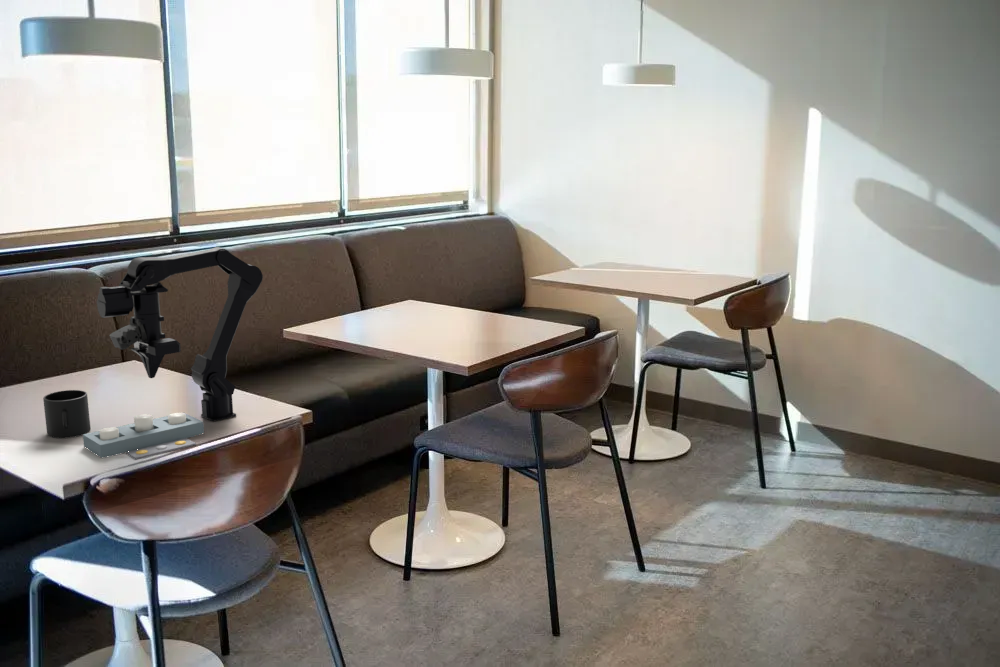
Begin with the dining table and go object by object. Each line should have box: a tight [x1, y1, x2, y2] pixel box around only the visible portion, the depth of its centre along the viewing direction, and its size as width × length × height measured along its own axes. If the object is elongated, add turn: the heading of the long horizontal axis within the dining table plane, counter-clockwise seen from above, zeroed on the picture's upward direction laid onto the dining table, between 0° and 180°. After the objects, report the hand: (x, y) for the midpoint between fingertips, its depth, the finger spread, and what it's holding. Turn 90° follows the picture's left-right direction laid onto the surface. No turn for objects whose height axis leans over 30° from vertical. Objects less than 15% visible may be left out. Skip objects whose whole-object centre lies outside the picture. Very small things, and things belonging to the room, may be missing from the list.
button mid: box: [133, 413, 154, 433], centre depth 223 cm, size 4×4×4 cm
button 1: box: [98, 426, 119, 441], centre depth 218 cm, size 4×4×4 cm
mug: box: [42, 389, 91, 439], centre depth 228 cm, size 9×12×9 cm
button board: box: [82, 412, 205, 459], centre depth 224 cm, size 24×10×3 cm, turn 133°
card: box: [125, 438, 197, 461], centre depth 218 cm, size 14×5×1 cm, turn 133°
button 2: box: [167, 412, 187, 425], centre depth 229 cm, size 4×4×4 cm
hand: (151, 377), depth 229 cm, fingers closed
